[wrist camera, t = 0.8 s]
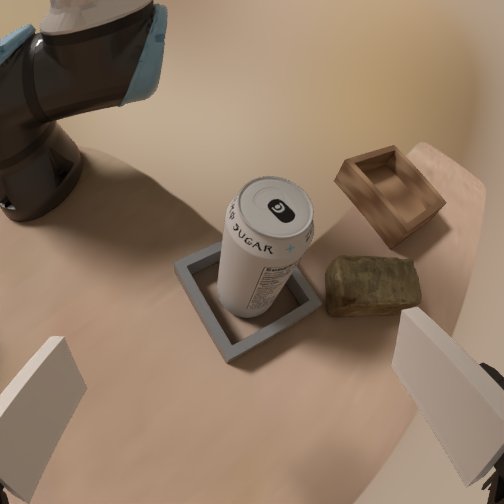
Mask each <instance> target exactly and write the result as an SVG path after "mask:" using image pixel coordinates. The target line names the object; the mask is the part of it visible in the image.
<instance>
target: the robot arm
mask: <svg viewBox="0 0 504 504" xmlns="http://www.w3.org/2000/svg"><path fill="white" fill-rule="evenodd" d="M50 3H51V7H50V9H49V11H48V12H47V14H46V16H45V17H44V18H43V20H42V22H41V23H40V31H41V32H40V33H37V34H35V31H36V30H35V28H34V27H33V26H32V25H30V24H29V25H26V26H24V27H21V28H19V29H17V30H16V31H14V32H12V33H10V34H9V35H7V36H5V37H4V38H2V39H1V40H0V208H1V209H2V211H3V212H4V213H5V215H6V216H7V217H9V218H10V219H12V220H15V221H28V220H32V219H35V218H37V217H40V216H42V215H44V214H46V213H47V212H49V211H50V210H52V209H53V208H55V207H56V206H57V205H58V204H60V203H61V202H62V201H63V200H64V199H65V198H66V197H67V196H68V194H69V193H70V192H71V191H72V189H73V188H74V187H75V185H76V183H77V181H78V179H79V177H80V174H81V171H82V158H81V155H80V153H79V150H78V147H77V145H76V144H75V142H74V141H72V139H71V138H70V137H69V136H68V134H66V132H65V131H64V130H63V129H62V128H61V126H60V125H59V124H58V123H57V121H56V120H59V119H62V118H66V117H70V116H73V115H78V114H81V113H86V112H90V111H95V110H99V109H104V108H109V107H114V106H118V107H120V106H123V105H125V104H127V103H131V102H136V101H141V100H145V99H147V98H149V97H150V96H151V95H153V94H154V92H155V91H156V89H157V87H158V84H159V79H160V74H161V67H162V61H163V54H164V44H165V43H164V39H165V33H166V27H167V8H166V6H164V5H160V4H154V5H153V0H50ZM391 367H392V369H393V370H394V372H395V373H396V375H397V376H398V378H399V379H400V381H401V382H402V384H403V385H404V387H405V388H406V390H407V391H408V393H409V394H410V396H411V397H412V399H413V401H414V402H415V404H416V405H417V407H418V408H419V410H420V411H421V413H422V414H423V416H424V418H425V419H426V421H427V422H428V424H429V425H430V427H431V429H432V430H433V432H434V434H435V435H436V437H437V438H438V440H439V441H440V443H441V445H442V447H443V448H444V450H445V451H446V453H447V455H448V457H449V458H450V460H451V462H452V463H453V465H454V467H455V468H456V470H457V472H458V474H459V476H460V477H461V479H462V481H463V482H464V484H465V486H466V487H468V486H470V485H471V484H473V483H474V482H476V481H478V480H479V479H481V478H482V477H484V476H485V475H486V474H487V473H488V471H489V470H490V469H491V468H492V467H493V466H494V467H495V469H496V471H495V472H494V473H493V475H492V476H491V477H490V478H489V479H488V480H487V481H486V482H485V483H484V484H483V487H482V490H484V489H485V488H486V487H487V486H488V485H489V484H490V483H491V482H492V483H491V486H490V487H489V489H488V490H490V493H489V498H488V503H487V504H504V377H503V376H502V375H500V374H499V372H498V371H497V370H495V369H494V368H492V367H490V366H489V365H487V364H485V363H481V364H478V363H477V362H476V361H475V360H474V359H473V358H472V357H471V356H470V355H469V354H468V353H467V352H466V351H465V350H464V349H463V348H462V347H461V346H460V345H459V344H458V343H456V342H455V341H454V340H453V339H452V338H451V337H450V336H449V335H448V334H447V333H446V332H445V331H444V330H443V329H442V328H441V327H440V326H438V325H437V324H436V323H435V322H434V321H433V320H432V319H431V318H430V317H429V316H428V315H426V314H425V313H424V312H423V311H422V310H421V309H420V308H419V307H414V308H409V309H404V310H402V311H401V317H400V324H399V330H398V335H397V341H396V346H395V351H394V356H393V360H392V365H391ZM86 390H87V386H86V384H85V382H84V380H83V378H82V376H81V374H80V372H79V370H78V368H77V365H76V363H75V361H74V359H73V356H72V354H71V352H70V349H69V347H68V345H67V342H66V340H65V337H60V336H51V337H50V338H49V339H48V340H47V341H46V342H45V343H44V344H43V345H42V347H41V348H40V349H39V350H38V351H37V352H36V353H35V354H34V356H33V357H32V358H31V359H30V360H29V361H28V362H27V363H26V365H25V366H24V367H23V368H22V369H21V370H20V372H19V373H18V374H17V375H16V376H15V378H14V379H13V380H12V381H11V382H10V384H9V385H8V386H7V387H6V389H5V390H4V391H3V392H2V393H1V395H0V504H9V502H8V498H7V495H6V493H5V492H4V491H3V488H4V487H5V488H6V489H7V490H8V491H10V492H11V493H12V494H13V495H14V496H16V497H17V498H19V499H21V500H23V501H25V502H27V503H30V501H31V498H32V496H33V494H34V491H35V489H36V487H37V485H38V483H39V480H40V478H41V476H42V474H43V472H44V470H45V468H46V465H47V463H48V461H49V459H50V457H51V455H52V453H53V451H54V449H55V447H56V445H57V443H58V441H59V439H60V437H61V436H62V434H63V432H64V430H65V428H66V426H67V424H68V422H69V420H70V419H71V417H72V415H73V413H74V411H75V409H76V408H77V406H78V404H79V402H80V400H81V399H82V397H83V395H84V393H85V392H86Z"/></svg>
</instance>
